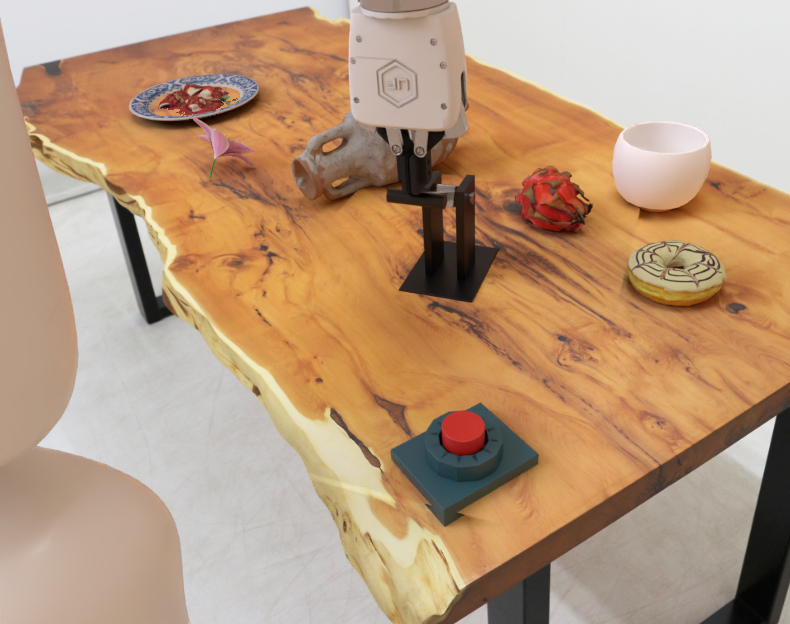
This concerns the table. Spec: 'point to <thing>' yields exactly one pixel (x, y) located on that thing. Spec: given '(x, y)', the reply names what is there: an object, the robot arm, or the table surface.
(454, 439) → the button
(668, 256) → the decorated donut
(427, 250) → the black lever stand
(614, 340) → the table surface
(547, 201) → the dragon fruit
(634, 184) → the cup
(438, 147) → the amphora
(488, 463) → the button box
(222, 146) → the lily
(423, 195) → the lever
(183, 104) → the ceramic plate
